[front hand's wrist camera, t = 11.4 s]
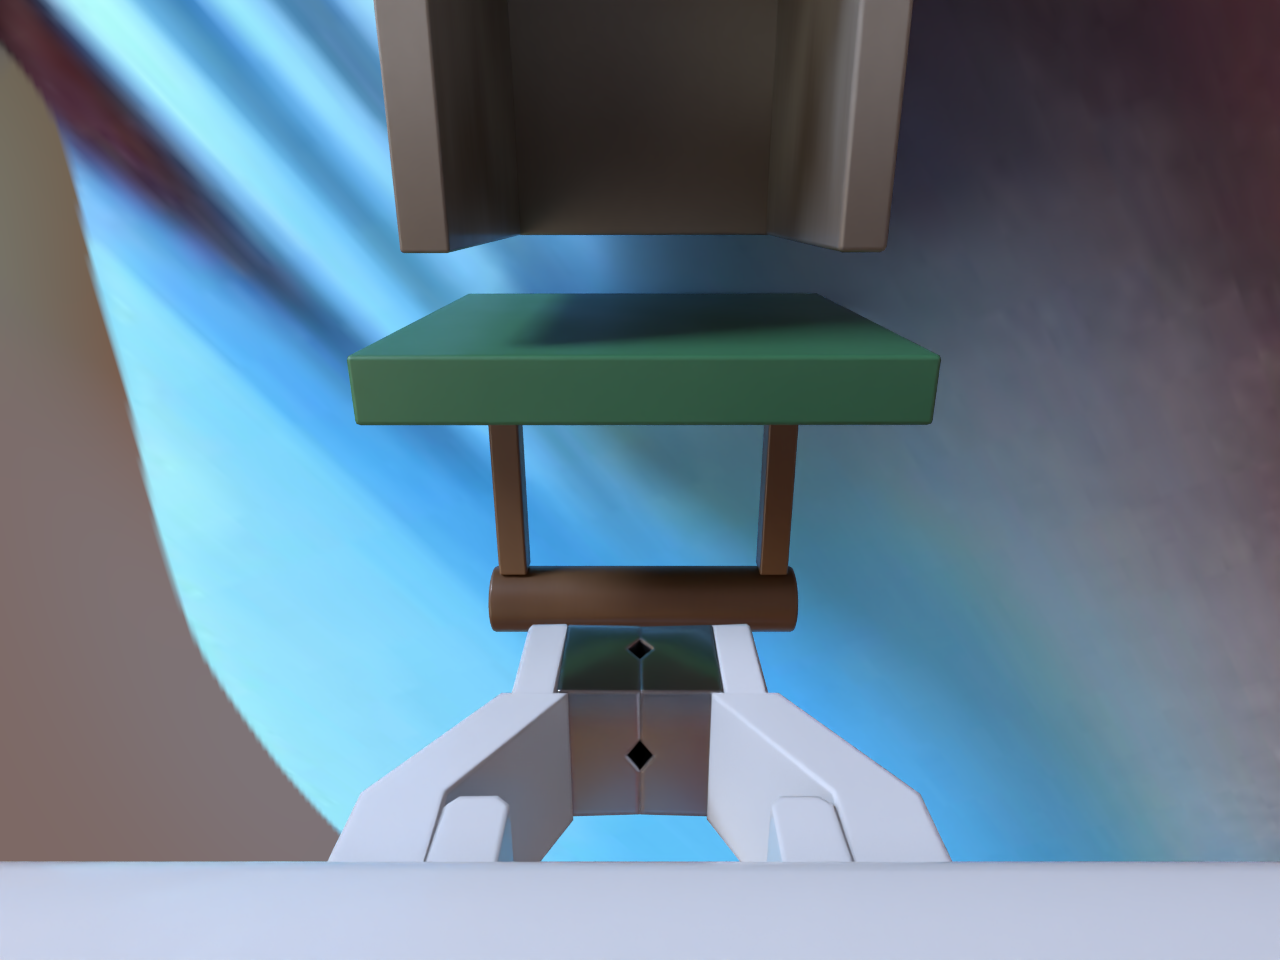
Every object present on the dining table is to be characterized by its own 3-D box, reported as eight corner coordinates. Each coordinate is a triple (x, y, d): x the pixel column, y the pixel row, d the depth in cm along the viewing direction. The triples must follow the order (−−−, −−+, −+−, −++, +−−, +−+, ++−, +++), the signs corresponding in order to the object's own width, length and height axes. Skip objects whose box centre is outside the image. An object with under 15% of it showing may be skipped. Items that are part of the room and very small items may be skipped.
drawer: (801, 513, 23) (896, 696, 14) (484, 513, 23) (391, 696, 14) (889, -587, 15) (1227, -1665, 6) (396, -585, 15) (64, -1657, 6)
